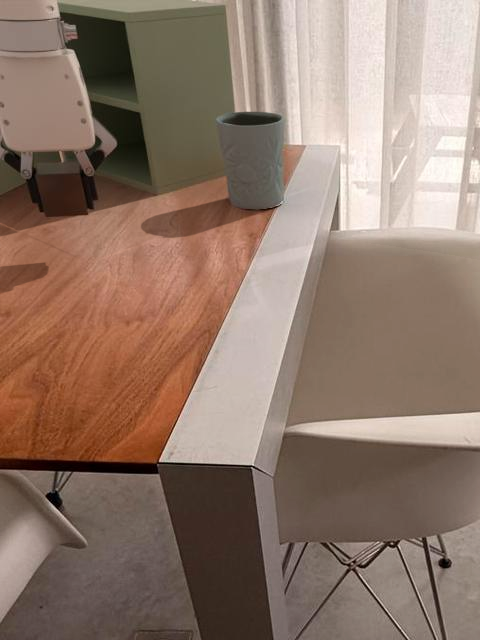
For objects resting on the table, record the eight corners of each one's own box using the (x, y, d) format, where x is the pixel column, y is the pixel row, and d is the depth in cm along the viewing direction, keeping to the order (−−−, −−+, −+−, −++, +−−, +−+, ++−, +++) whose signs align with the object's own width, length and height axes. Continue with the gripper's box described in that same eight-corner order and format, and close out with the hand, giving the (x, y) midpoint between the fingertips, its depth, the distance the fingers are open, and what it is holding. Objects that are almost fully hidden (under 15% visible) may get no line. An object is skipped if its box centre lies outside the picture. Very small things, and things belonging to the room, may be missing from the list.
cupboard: (158, 196, 109) (128, 12, 94) (64, 164, 122) (23, -3, 106) (240, 172, 120) (225, 4, 105) (146, 145, 133) (120, -9, 117)
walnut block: (45, 217, 84) (34, 174, 81) (47, 204, 87) (37, 162, 84) (88, 215, 85) (79, 172, 82) (89, 202, 89) (80, 161, 85)
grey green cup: (243, 216, 103) (235, 128, 95) (213, 198, 109) (203, 114, 101) (300, 204, 108) (297, 120, 100) (268, 188, 114) (263, 107, 106)
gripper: (109, 32, 79) (136, 194, 91) (-53, 31, 75) (-3, 201, 87) (109, 42, 74) (138, 213, 85) (-65, 42, 70) (-10, 221, 81)
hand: (67, 206), depth 86 cm, fingers closed on walnut block, 5 cm apart
